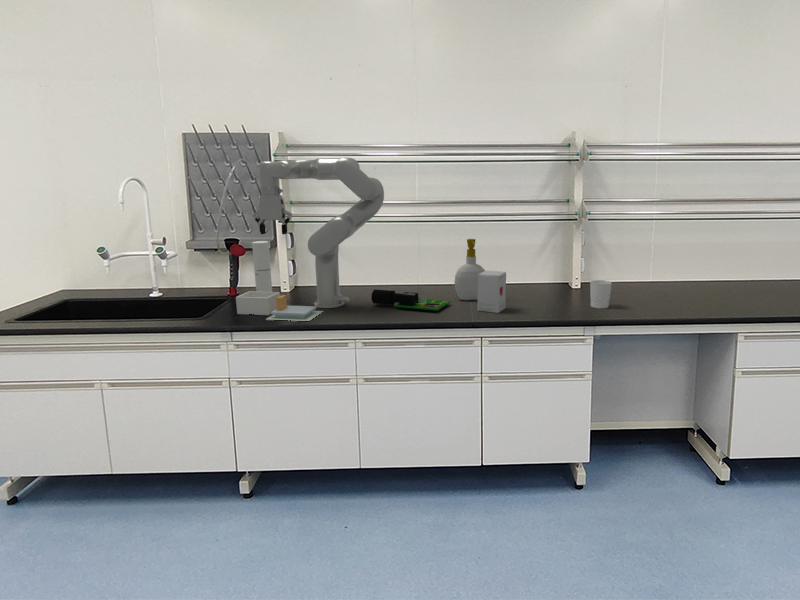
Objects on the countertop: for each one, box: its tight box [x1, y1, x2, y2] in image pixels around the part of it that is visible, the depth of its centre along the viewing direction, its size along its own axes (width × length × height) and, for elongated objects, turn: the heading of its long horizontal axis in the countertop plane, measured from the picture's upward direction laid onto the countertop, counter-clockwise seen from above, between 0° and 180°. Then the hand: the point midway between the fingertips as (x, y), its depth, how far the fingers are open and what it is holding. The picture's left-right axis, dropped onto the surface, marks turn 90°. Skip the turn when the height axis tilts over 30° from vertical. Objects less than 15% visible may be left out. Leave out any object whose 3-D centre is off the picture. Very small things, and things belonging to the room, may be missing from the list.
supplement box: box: [476, 270, 507, 314], centre depth 219 cm, size 9×9×15 cm
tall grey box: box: [251, 240, 273, 292], centre depth 252 cm, size 7×7×25 cm
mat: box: [265, 310, 324, 322], centre depth 219 cm, size 18×15×1 cm
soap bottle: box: [454, 238, 486, 301], centre depth 235 cm, size 14×9×26 cm, turn 96°
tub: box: [235, 290, 281, 316], centre depth 227 cm, size 14×11×7 cm
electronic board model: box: [371, 288, 452, 311], centre depth 229 cm, size 30×7×15 cm
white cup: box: [589, 279, 612, 309], centre depth 220 cm, size 8×8×10 cm
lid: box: [270, 294, 317, 319], centre depth 218 cm, size 14×11×7 cm
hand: (273, 234), depth 231 cm, fingers open, 9 cm apart
